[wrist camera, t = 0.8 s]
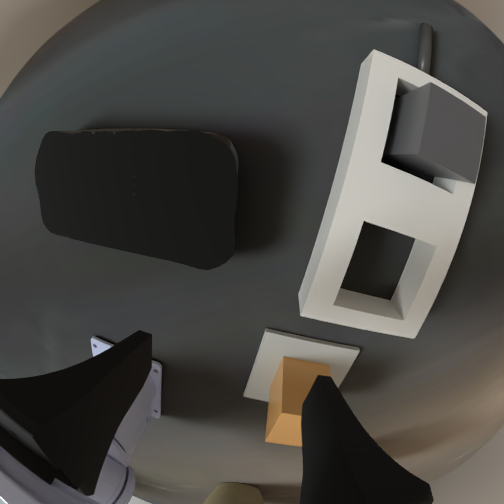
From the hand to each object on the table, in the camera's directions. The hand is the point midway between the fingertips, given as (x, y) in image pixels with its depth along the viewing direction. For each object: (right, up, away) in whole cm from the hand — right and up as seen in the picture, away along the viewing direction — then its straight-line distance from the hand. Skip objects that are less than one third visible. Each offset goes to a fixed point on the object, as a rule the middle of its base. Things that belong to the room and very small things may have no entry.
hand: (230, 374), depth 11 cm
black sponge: (-8, +10, +8) cm, 15 cm away
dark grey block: (+12, +13, +5) cm, 18 cm away
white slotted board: (+11, +11, +5) cm, 17 cm away
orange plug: (+5, -6, +11) cm, 13 cm away
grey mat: (+5, -5, +11) cm, 14 cm away
